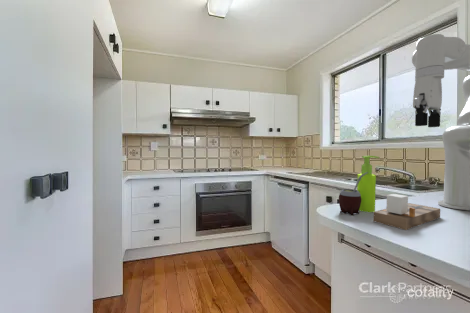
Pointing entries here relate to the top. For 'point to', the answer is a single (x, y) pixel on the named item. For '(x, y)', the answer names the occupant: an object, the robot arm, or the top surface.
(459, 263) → the top surface
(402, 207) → the fader knob
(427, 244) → the top surface
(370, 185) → the soap dispenser
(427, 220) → the fader console
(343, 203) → the mate gourd
